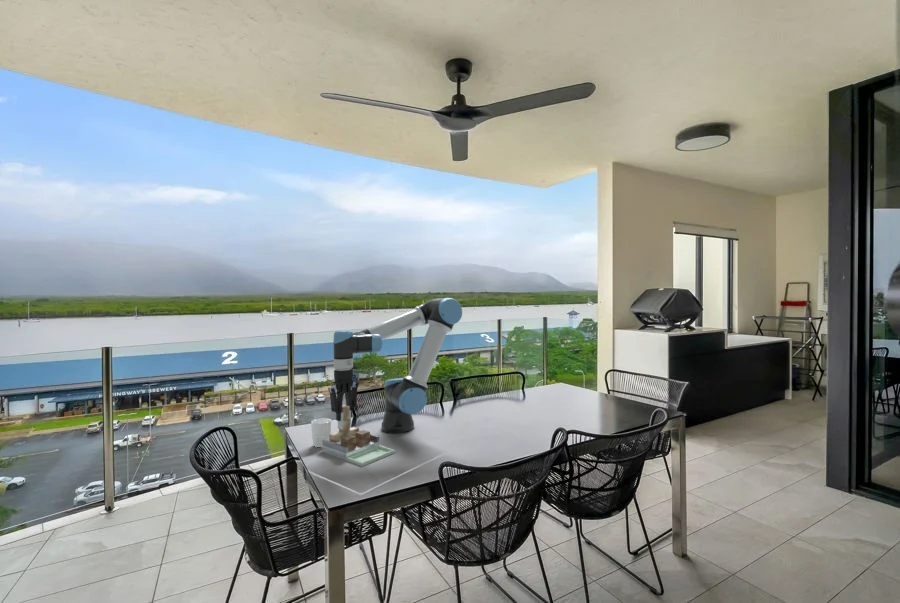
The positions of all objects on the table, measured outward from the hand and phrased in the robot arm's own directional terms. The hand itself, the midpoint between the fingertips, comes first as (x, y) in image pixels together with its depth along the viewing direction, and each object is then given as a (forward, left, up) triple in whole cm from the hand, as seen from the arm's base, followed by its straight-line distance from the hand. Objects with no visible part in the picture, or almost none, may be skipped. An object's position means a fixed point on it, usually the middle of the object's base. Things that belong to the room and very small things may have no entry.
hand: (344, 427), depth 158 cm
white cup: (+3, -11, -9) cm, 15 cm away
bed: (0, +4, -9) cm, 9 cm away
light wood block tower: (0, 0, -5) cm, 5 cm away
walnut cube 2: (-3, +7, -6) cm, 10 cm away
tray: (0, +16, -9) cm, 18 cm away
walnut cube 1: (+4, +7, -6) cm, 10 cm away
